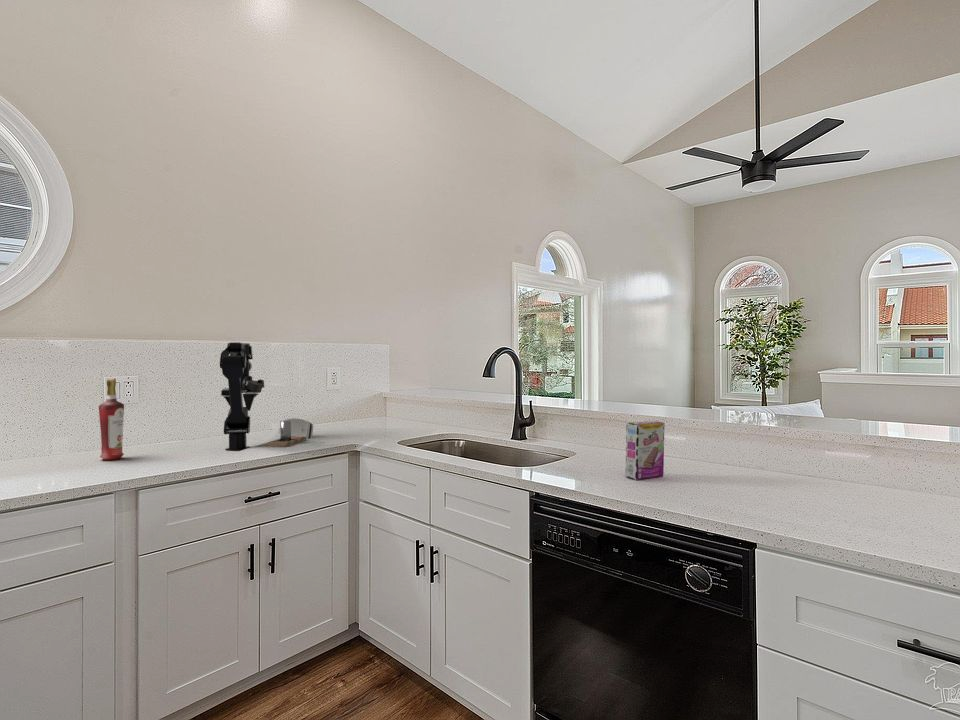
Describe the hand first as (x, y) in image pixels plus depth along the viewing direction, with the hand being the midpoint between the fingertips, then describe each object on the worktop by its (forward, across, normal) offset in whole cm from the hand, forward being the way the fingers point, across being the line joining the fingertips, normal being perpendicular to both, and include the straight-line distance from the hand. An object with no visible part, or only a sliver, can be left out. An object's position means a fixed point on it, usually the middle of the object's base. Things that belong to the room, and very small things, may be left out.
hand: (241, 411), depth 215 cm
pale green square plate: (+13, -2, -32) cm, 35 cm away
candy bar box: (+13, -36, -154) cm, 159 cm away
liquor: (+13, -36, +26) cm, 46 cm away
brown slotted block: (+13, -2, -21) cm, 25 cm away
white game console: (+13, +14, -16) cm, 25 cm away
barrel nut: (+13, -3, -21) cm, 25 cm away
